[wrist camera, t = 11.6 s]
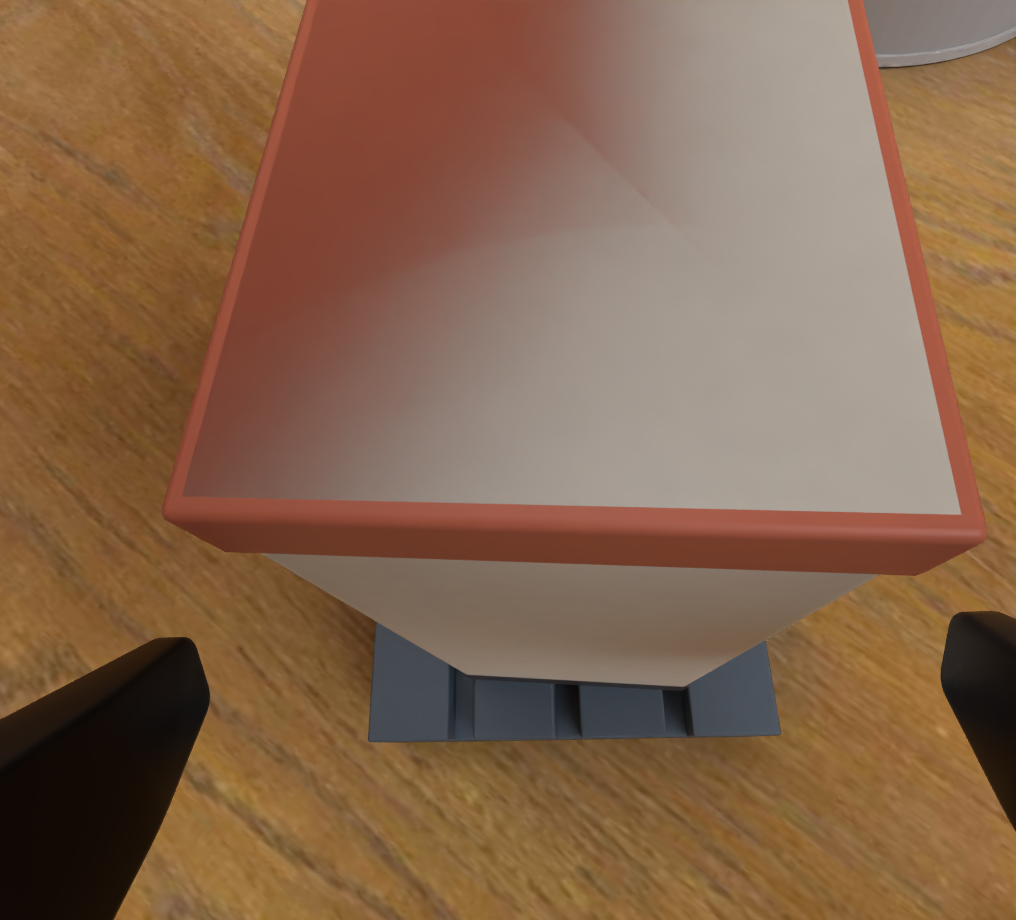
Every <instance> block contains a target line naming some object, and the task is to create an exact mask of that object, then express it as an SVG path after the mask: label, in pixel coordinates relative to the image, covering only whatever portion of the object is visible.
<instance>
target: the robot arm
mask: <svg viewBox="0 0 1016 920" xmlns="http://www.w3.org/2000/svg"><path fill="white" fill-rule="evenodd" d="M941 683H942V688H943V691H944V693H945V696H946V698H947V700H948V702H949V704H950V706H951V708H952V710H953V712H954V714H955V716H956V718H957V720H958V722H959V723H960V725H961V727H962V729H963V731H964V733H965V735H966V737H967V739H968V741H969V743H970V745H971V747H972V749H973V751H974V753H975V755H976V757H977V759H978V761H979V763H980V765H981V767H982V769H983V771H984V773H985V775H986V777H987V779H988V781H989V783H990V785H991V787H992V789H993V790H994V792H995V794H996V796H997V798H998V800H999V802H1000V804H1001V806H1002V808H1003V810H1004V812H1005V813H1006V815H1007V817H1008V819H1009V821H1010V823H1011V824H1012V826H1013V828H1014V829H1015V831H1016V619H1015V618H1012V617H1010V616H1008V615H1005V614H1003V613H1000V612H996V611H976V612H959V613H958V614H956V615H954V616H953V618H952V619H951V621H950V624H949V628H948V634H947V639H946V645H945V650H944V655H943V661H942V666H941ZM209 702H210V691H209V686H208V683H207V680H206V677H205V673H204V670H203V667H202V664H201V660H200V657H199V654H198V651H197V648H196V645H195V643H194V642H193V641H192V640H191V639H189V638H187V637H168V638H157V639H154V640H151V641H149V642H148V643H146V644H144V645H142V646H140V647H138V648H136V649H134V650H132V651H130V652H128V653H127V654H125V655H123V656H121V657H119V658H117V659H115V660H113V661H111V662H109V663H107V664H105V665H104V666H102V667H100V668H98V669H96V670H94V671H92V672H90V673H88V674H86V675H84V676H83V677H81V678H79V679H77V680H75V681H73V682H71V683H69V684H67V685H65V686H63V687H62V688H60V689H58V690H56V691H54V692H52V693H50V694H48V695H46V696H44V697H42V698H40V699H39V700H37V701H35V702H33V703H31V704H29V705H27V706H25V707H23V708H21V709H19V710H18V711H16V712H14V713H12V714H10V715H8V716H6V717H4V718H2V719H0V920H114V918H115V916H116V914H117V912H118V910H119V908H120V906H121V904H122V902H123V900H124V898H125V896H126V894H127V892H128V890H129V888H130V886H131V884H132V883H133V881H134V879H135V877H136V875H137V873H138V871H139V869H140V867H141V865H142V863H143V861H144V859H145V857H146V855H147V853H148V851H149V849H150V847H151V845H152V843H153V841H154V839H155V837H156V835H157V833H158V831H159V829H160V826H161V824H162V822H163V819H164V817H165V815H166V813H167V810H168V808H169V806H170V803H171V801H172V798H173V796H174V793H175V791H176V788H177V786H178V783H179V781H180V778H181V776H182V773H183V771H184V768H185V766H186V763H187V761H188V758H189V756H190V753H191V751H192V748H193V746H194V743H195V741H196V738H197V736H198V733H199V731H200V728H201V726H202V723H203V721H204V718H205V716H206V713H207V710H208V707H209Z"/></svg>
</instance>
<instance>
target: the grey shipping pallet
mask: <svg viewBox="0 0 1016 920" xmlns="http://www.w3.org/2000/svg"><path fill="white" fill-rule="evenodd" d="M780 734H781V729H780V724H779V718H778V712H777V706H776V700H775V694H774V688H773V682H772V676H771V670H770V664H769V658H768V652H767V646H766V640H765V641H763V642H761V643H760V644H758V645H756V646H754V647H753V648H751V649H749V650H747V651H746V652H744V653H742V654H740V655H739V656H737V657H735V658H733V659H732V660H730V661H728V662H726V663H725V664H723V665H721V666H719V667H718V668H716V669H714V670H712V671H711V672H709V673H707V674H705V675H704V676H702V677H700V678H698V679H697V680H695V681H693V682H691V683H690V686H689V687H688V688H686V689H684V690H682V691H671V690H653V689H636V688H618V687H601V686H583V685H565V684H548V683H530V682H513V681H495V680H478V679H470V678H468V677H466V676H464V675H462V674H461V671H460V670H458V669H456V668H454V667H453V666H451V665H449V664H448V663H446V662H444V661H443V660H441V659H439V658H437V657H436V656H434V655H432V654H431V653H429V652H427V651H426V650H424V649H422V648H420V647H419V646H417V645H415V644H414V643H412V642H410V641H408V640H407V639H405V638H403V637H402V636H400V635H398V634H397V633H395V632H393V631H391V630H390V629H388V628H386V627H385V626H383V625H381V624H380V623H378V622H376V625H375V640H374V656H373V671H372V686H371V702H370V717H369V732H368V741H369V742H458V741H518V740H577V739H636V738H695V737H751V736H772V735H780Z"/></svg>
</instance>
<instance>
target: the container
mask: <svg viewBox="0 0 1016 920" xmlns="http://www.w3.org/2000/svg"><path fill="white" fill-rule="evenodd" d="M863 3H864V8H865V12H866V16H867V20H868V25H869V29H870V33H871V37H872V42H873V46H874V50H875V54H876V59H877V63H878V67H900V66H911V65H922V64H929V63H934V62H940V61H946V60H952V59H956V58H959V57H963V56H967V55H971V54H974V53H977V52H980V51H983V50H986V49H989V48H992V47H995V46H997V45H999V44H1001V43H1003V42H1006V41H1008V40H1010V39H1012V38H1014V37H1016V0H863Z"/></svg>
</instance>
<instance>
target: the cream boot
mask: <svg viewBox="0 0 1016 920" xmlns="http://www.w3.org/2000/svg"><path fill="white" fill-rule="evenodd" d="M162 515H163V517H164V519H165V520H167V521H169V522H171V523H172V524H174V525H176V526H178V527H180V528H182V529H184V530H186V531H187V532H189V533H191V534H193V535H195V536H197V537H199V538H200V539H202V540H204V541H206V542H208V543H210V544H212V545H214V546H215V547H217V548H219V549H221V550H223V551H225V552H241V553H260V554H262V555H264V556H265V557H267V558H269V559H271V560H272V561H274V562H276V563H277V564H279V565H281V566H282V567H284V568H286V569H288V570H289V571H291V572H293V573H294V574H296V575H298V576H299V577H301V578H303V579H305V580H306V581H308V582H310V583H311V584H313V585H315V586H317V587H318V588H320V589H322V590H323V591H325V592H327V593H328V594H330V595H332V596H334V597H335V598H337V599H339V600H340V601H342V602H344V603H345V604H347V605H349V606H351V607H352V608H354V609H356V610H357V611H359V612H361V613H362V614H364V615H366V616H368V617H369V618H371V619H373V620H374V621H376V622H378V623H380V624H381V625H383V626H385V627H386V628H388V629H390V630H391V631H393V632H395V633H397V634H398V635H400V636H402V637H403V638H405V639H407V640H408V641H410V642H412V643H414V644H415V645H417V646H419V647H420V648H422V649H424V650H426V651H427V652H429V653H431V654H432V655H434V656H436V657H437V658H439V659H441V660H443V661H444V662H446V663H448V664H449V665H451V666H453V667H454V668H456V669H458V670H460V671H461V674H462V675H464V676H466V677H468V678H470V679H478V680H495V681H513V682H530V683H548V684H565V685H583V686H601V687H618V688H636V689H653V690H671V691H682V690H684V689H686V688H688V687H689V686H690V683H691V682H693V681H695V680H697V679H698V678H700V677H702V676H704V675H705V674H707V673H709V672H711V671H712V670H714V669H716V668H718V667H719V666H721V665H723V664H725V663H726V662H728V661H730V660H732V659H733V658H735V657H737V656H739V655H740V654H742V653H744V652H746V651H747V650H749V649H751V648H753V647H754V646H756V645H758V644H760V643H761V642H763V641H765V640H767V639H768V638H770V637H772V636H774V635H775V634H777V633H779V632H780V631H782V630H784V629H786V628H787V627H789V626H791V625H793V624H794V623H796V622H798V621H800V620H801V619H803V618H805V617H807V616H808V615H810V614H812V613H814V612H815V611H817V610H819V609H821V608H822V607H824V606H826V605H828V604H829V603H831V602H833V601H835V600H836V599H838V598H840V597H842V596H843V595H845V594H847V593H849V592H850V591H852V590H854V589H856V588H857V587H859V586H861V585H863V584H864V583H866V582H868V581H870V580H871V579H873V578H875V577H877V576H878V575H880V574H883V575H912V576H916V575H918V574H921V573H924V572H926V571H928V570H930V569H932V568H934V567H936V566H938V565H940V564H942V563H944V562H946V561H948V560H950V559H952V558H954V557H956V556H958V555H960V554H962V553H964V552H966V551H968V550H970V549H972V548H974V547H976V546H978V545H980V544H982V543H984V541H985V539H986V534H987V526H986V522H985V518H984V513H983V509H982V505H981V501H980V496H979V492H978V488H977V484H976V479H975V475H974V471H973V467H972V462H971V458H970V454H969V450H968V445H967V441H966V437H965V433H964V428H963V424H962V420H961V416H960V411H959V407H958V403H957V399H956V394H955V390H954V386H953V382H952V377H951V373H950V369H949V365H948V360H947V356H946V352H945V348H944V343H943V339H942V335H941V331H940V326H939V322H938V318H937V314H936V309H935V305H934V301H933V297H932V292H931V288H930V284H929V280H928V275H927V271H926V267H925V263H924V258H923V254H922V250H921V246H920V241H919V237H918V233H917V229H916V224H915V220H914V216H913V212H912V207H911V203H910V199H909V195H908V190H907V186H906V182H905V178H904V173H903V169H902V165H901V161H900V156H899V152H898V148H897V144H896V139H895V135H894V131H893V127H892V122H891V118H890V114H889V110H888V105H887V101H886V97H885V93H884V88H883V84H882V80H881V76H880V71H879V67H878V63H877V59H876V54H875V50H874V46H873V42H872V37H871V33H870V29H869V25H868V20H867V16H866V12H865V8H864V3H863V0H307V1H306V5H305V8H304V12H303V15H302V19H301V22H300V26H299V29H298V33H297V36H296V40H295V43H294V47H293V50H292V54H291V57H290V61H289V64H288V68H287V71H286V75H285V78H284V82H283V85H282V89H281V92H280V96H279V99H278V103H277V106H276V110H275V113H274V117H273V121H272V124H271V128H270V131H269V135H268V138H267V142H266V145H265V149H264V152H263V156H262V159H261V163H260V166H259V170H258V173H257V177H256V180H255V184H254V187H253V191H252V194H251V198H250V201H249V205H248V208H247V212H246V215H245V219H244V222H243V226H242V229H241V233H240V236H239V240H238V243H237V247H236V250H235V254H234V257H233V261H232V264H231V268H230V271H229V275H228V278H227V282H226V285H225V289H224V292H223V296H222V299H221V303H220V306H219V310H218V313H217V317H216V320H215V324H214V327H213V331H212V334H211V338H210V341H209V345H208V348H207V352H206V355H205V359H204V362H203V366H202V369H201V373H200V376H199V380H198V383H197V387H196V390H195V394H194V397H193V401H192V404H191V408H190V411H189V415H188V418H187V422H186V425H185V429H184V432H183V436H182V439H181V443H180V446H179V450H178V453H177V457H176V460H175V464H174V467H173V471H172V474H171V478H170V481H169V485H168V488H167V492H166V495H165V499H164V502H163V506H162Z"/></svg>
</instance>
